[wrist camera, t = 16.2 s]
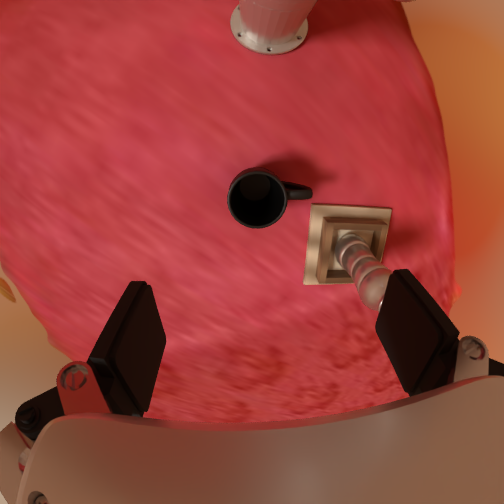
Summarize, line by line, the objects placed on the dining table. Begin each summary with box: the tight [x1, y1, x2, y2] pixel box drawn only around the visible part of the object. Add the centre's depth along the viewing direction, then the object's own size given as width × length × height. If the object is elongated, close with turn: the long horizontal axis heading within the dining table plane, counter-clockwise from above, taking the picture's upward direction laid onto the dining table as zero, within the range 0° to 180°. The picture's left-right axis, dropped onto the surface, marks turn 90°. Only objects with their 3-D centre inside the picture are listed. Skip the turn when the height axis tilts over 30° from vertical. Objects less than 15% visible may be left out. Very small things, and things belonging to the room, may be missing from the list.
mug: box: [227, 167, 313, 228], centre depth 41 cm, size 8×12×10 cm
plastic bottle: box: [335, 234, 393, 312], centre depth 40 cm, size 6×7×20 cm
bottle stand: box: [303, 204, 392, 285], centre depth 48 cm, size 16×16×4 cm
